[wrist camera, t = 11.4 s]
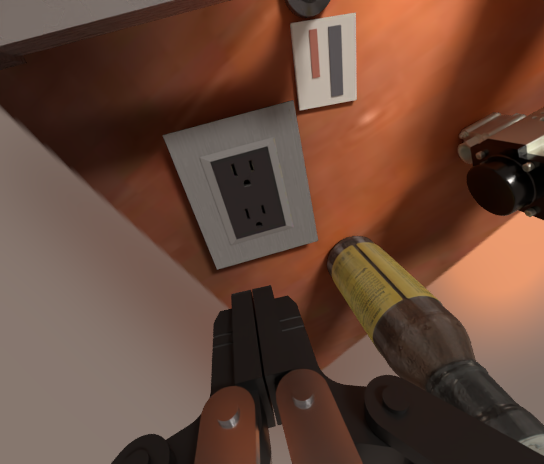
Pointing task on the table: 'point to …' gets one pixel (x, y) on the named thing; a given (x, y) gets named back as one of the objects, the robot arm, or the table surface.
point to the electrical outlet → (246, 183)
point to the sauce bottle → (424, 338)
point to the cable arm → (75, 21)
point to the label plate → (325, 60)
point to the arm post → (306, 7)
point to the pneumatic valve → (506, 162)
